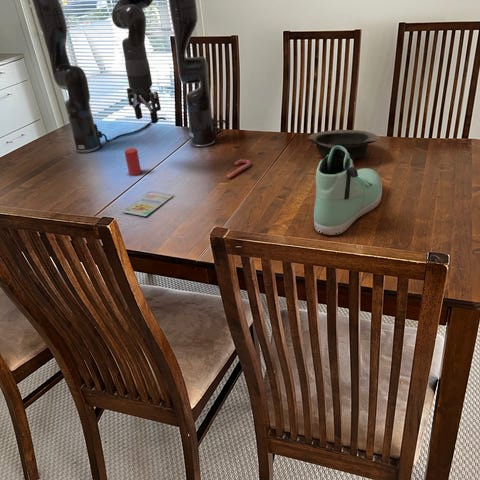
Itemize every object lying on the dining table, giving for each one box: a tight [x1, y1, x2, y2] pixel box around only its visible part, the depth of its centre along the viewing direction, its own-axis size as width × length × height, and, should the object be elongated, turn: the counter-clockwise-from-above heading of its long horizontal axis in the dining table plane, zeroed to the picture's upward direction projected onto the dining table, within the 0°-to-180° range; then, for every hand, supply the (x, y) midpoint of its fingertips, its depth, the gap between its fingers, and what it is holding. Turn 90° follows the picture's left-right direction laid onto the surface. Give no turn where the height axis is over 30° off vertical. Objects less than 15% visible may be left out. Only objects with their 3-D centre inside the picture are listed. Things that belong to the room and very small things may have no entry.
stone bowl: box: [307, 129, 380, 162], centre depth 171 cm, size 25×25×9 cm
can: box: [124, 147, 142, 177], centre depth 170 cm, size 4×4×9 cm
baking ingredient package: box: [121, 191, 173, 217], centre depth 150 cm, size 9×1×15 cm
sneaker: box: [313, 146, 383, 236], centre depth 133 cm, size 14×35×20 cm, turn 152°
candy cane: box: [226, 158, 252, 180], centre depth 168 cm, size 6×15×2 cm, turn 145°
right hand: (147, 120), depth 164 cm, fingers open, 8 cm apart
